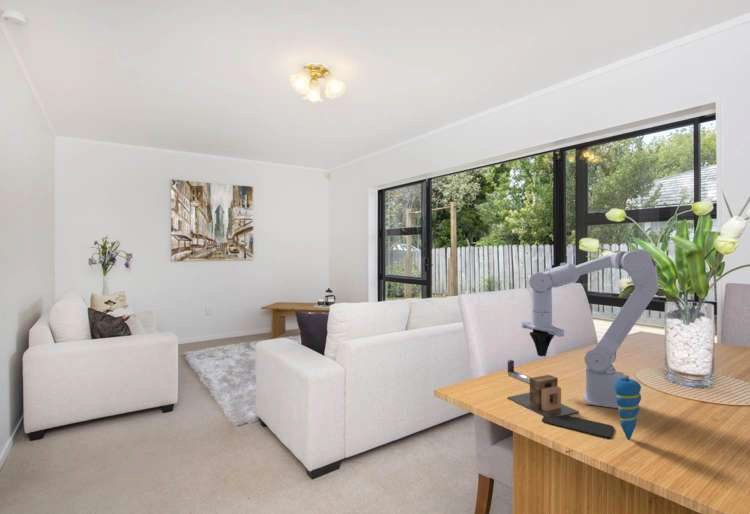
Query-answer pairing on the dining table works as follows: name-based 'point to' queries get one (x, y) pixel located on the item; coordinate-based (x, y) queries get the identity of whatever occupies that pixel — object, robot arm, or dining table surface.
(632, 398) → the ornament
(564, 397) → the dining table surface
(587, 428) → the phone
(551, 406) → the collar
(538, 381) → the bearing block
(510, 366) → the crank handle
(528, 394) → the base plate
